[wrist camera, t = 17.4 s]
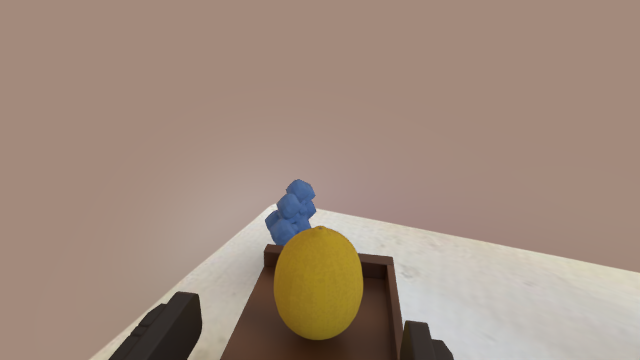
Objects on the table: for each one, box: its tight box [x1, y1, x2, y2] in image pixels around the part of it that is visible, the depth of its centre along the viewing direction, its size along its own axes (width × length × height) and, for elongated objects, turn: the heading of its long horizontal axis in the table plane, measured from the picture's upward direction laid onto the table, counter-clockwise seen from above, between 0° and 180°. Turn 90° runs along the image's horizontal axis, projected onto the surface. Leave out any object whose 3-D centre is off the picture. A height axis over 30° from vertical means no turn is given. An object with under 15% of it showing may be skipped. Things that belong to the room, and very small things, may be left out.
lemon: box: [274, 226, 363, 340], centre depth 20 cm, size 6×6×8 cm
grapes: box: [265, 179, 316, 246], centre depth 43 cm, size 12×7×12 cm, turn 163°
